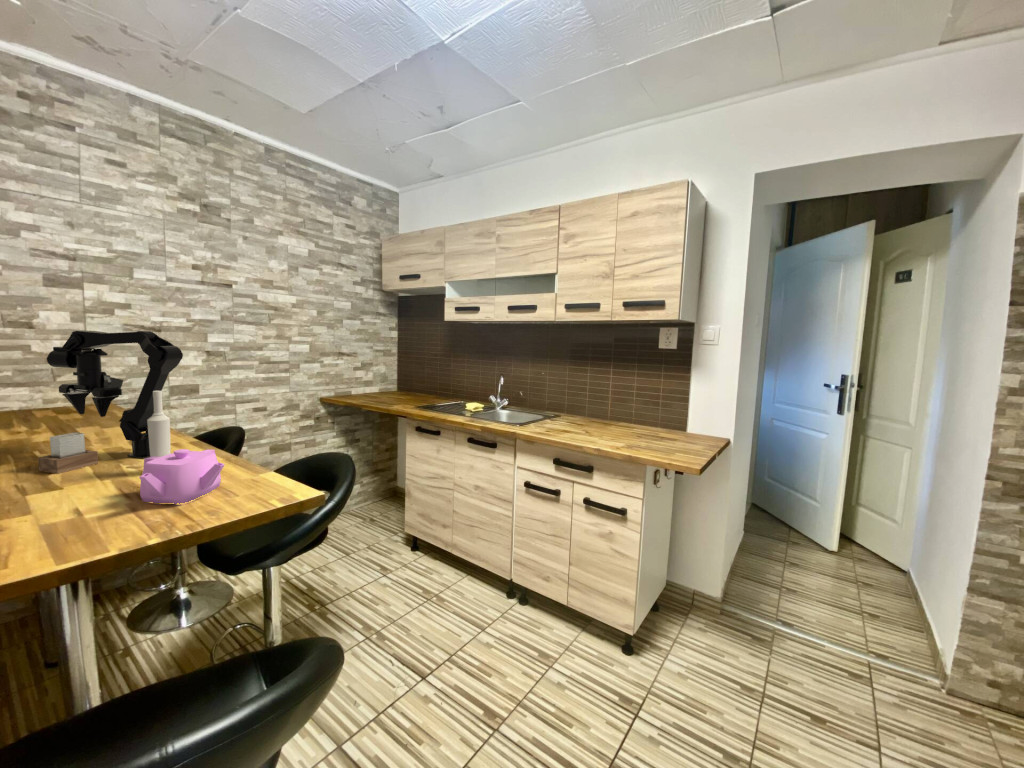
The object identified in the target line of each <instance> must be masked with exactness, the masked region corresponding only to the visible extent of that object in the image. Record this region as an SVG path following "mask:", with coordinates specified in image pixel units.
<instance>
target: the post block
mask: <svg viewBox="0 0 1024 768" xmlns="http://www.w3.org/2000/svg"><path fill="white" fill-rule="evenodd" d="M37 461H38V462H37V463H38V471H40V472H44V471H46V472H47V473H50V472H51V474H56V475H59V474H63V473H66V472H71V471H74V470H79V469H83V468H86V466H87V467H90V465H91V466H94V465H93V464H95V465H98V464H99V455H98V450H89V449H85V453H83V454H79V455H74V456H70V457H65V458H60V459H57V458H51V454H49V455H44V456H39V457H37ZM97 463H98V464H97ZM82 467H83V468H82ZM46 472H45V473H46Z"/></svg>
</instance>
